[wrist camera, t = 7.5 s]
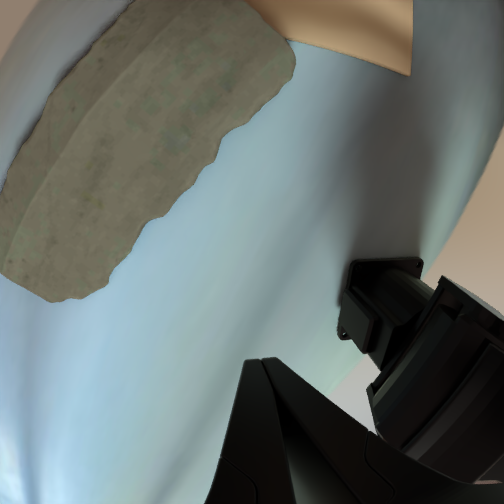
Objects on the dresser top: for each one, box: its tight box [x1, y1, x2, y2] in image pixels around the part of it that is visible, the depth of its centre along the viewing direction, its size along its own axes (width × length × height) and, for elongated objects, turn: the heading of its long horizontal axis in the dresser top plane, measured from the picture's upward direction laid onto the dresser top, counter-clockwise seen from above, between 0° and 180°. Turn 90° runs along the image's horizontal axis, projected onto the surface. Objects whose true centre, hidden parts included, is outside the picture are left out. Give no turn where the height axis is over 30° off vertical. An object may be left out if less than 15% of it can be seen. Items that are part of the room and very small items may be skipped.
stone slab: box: [0, 0, 296, 303], centre depth 15 cm, size 22×3×10 cm
